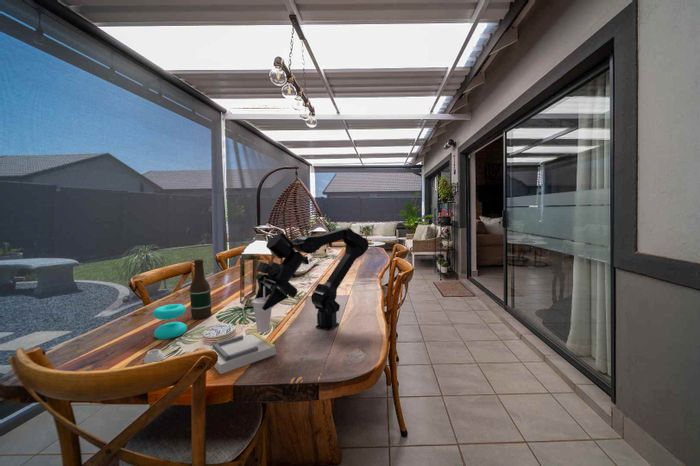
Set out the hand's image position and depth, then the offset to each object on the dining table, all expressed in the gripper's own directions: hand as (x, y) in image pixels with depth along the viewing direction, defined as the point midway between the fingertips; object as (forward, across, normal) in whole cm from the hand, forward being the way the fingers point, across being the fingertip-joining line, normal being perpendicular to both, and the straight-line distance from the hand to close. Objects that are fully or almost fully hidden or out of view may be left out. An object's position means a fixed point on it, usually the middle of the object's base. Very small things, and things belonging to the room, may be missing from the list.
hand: (258, 307), depth 92 cm
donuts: (+23, -33, -4) cm, 40 cm away
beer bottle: (+13, -46, +6) cm, 48 cm away
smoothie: (+5, 0, +6) cm, 8 cm away
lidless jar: (+28, -14, -9) cm, 33 cm away
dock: (+14, 0, +5) cm, 15 cm away
